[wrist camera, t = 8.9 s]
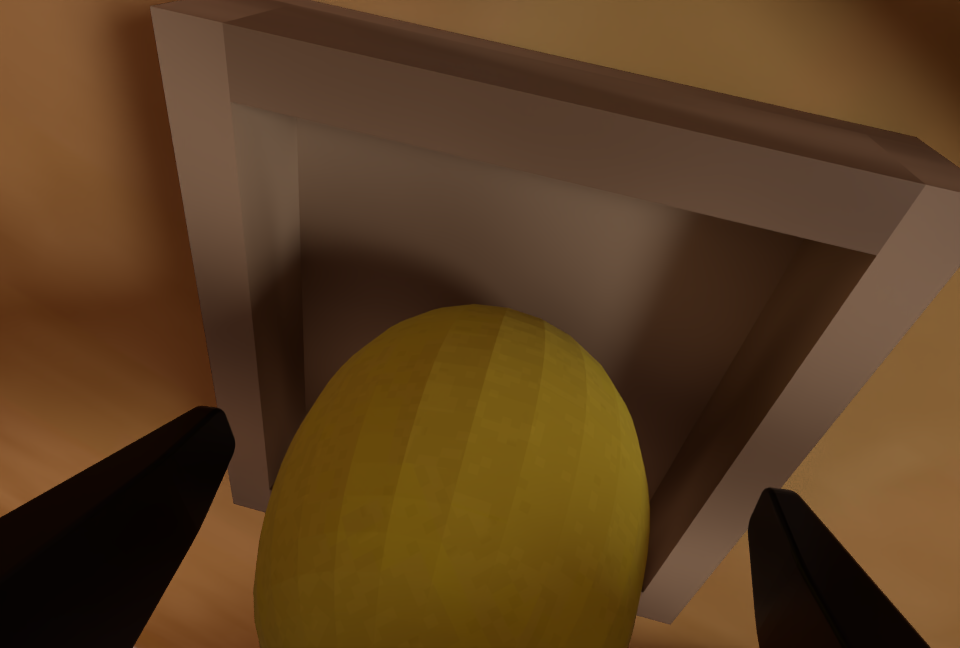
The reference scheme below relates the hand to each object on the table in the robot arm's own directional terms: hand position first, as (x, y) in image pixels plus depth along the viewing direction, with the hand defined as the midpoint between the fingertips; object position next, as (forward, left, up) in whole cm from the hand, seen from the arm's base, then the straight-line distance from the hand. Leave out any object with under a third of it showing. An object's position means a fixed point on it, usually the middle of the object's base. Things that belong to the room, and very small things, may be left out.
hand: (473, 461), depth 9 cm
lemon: (0, 0, -4) cm, 4 cm away
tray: (0, 0, -4) cm, 4 cm away
